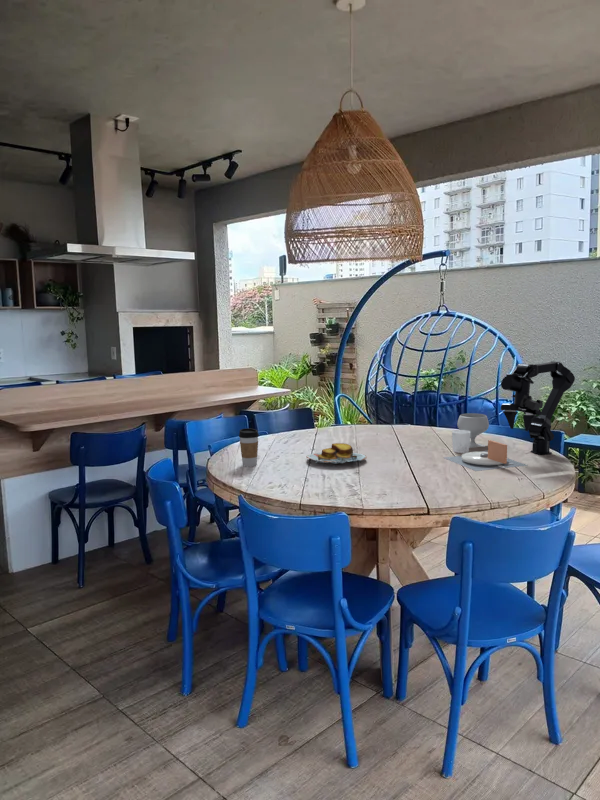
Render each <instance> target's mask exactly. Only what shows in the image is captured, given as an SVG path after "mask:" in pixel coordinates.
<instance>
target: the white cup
mask: <svg viewBox="0 0 600 800" xmlns="http://www.w3.org/2000/svg"><path fill="white" fill-rule="evenodd" d="M451 437H452V438H451V443H452V451H453V452H454V453H457V454H459V453H460V454H464V453H468V452H470V448H469V446H470V441H471V439H470V431H467V430H459V429H456V430H454V429H453V430H452V431H451Z"/></svg>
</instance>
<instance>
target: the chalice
mask: <svg viewBox="0 0 600 800" xmlns="http://www.w3.org/2000/svg"><path fill="white" fill-rule="evenodd" d="M456 425H457V428H458V430H467V431H470V446H469V449H471V448H472V449H473V448H479V447H480V448H481V447H486V445H485V444H481V443H477V442H476V438H477V436H479V435H481V434H483V433H485V432H486V431H488V429H489V427H490V422H489V419H488V416H487V415H486V414H483V413H476V412H475V413H474V412H472V413H471V412H469V413H461V414H460V415H459V417H458V419H457V424H456Z"/></svg>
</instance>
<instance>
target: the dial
mask: <svg viewBox="0 0 600 800" xmlns="http://www.w3.org/2000/svg"><path fill="white" fill-rule="evenodd" d="M487 450H488V451H486V452H481V451H469V452H467V453H461V456H462V461H464V462H467V463H471V464H476V465H500V464H506V463H507V458H508V444H506V443H502V442H499V441H494V440H492V439H490V440H487Z"/></svg>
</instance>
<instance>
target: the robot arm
mask: <svg viewBox="0 0 600 800" xmlns="http://www.w3.org/2000/svg"><path fill="white" fill-rule="evenodd" d="M545 373H549V374H550V377H551V378H552V380H551V385H552V389H551V391H550V393H549V395H548V396H547V399H546V401H545V402H544V401H543V400H541V399H536V400H533V397H532V396H531V395H530V392H531V390H530V389H531V385H532V384H533V385H534V381H533V380H532V378H535V377H537V376H538V375H539V374H545ZM575 380H576V377H575V375H574V374H573V372H572V371H571V370H570V369H569V368H568V367H566V366H564V364H563V363H562V362H560V361H549V362H543V363H536V364H530V363H518V364H517V366H516V367H515V369H514V370H513V371H512V373H506V375H505V376H504V377H503V378H502V380H501V381H500V386H501V388H502V389H503V390H505V391H509V392H514V394H513V395H512V398H514V403H502V404H501V405H500V411H502V414H504V416H505V418H506V420H507V423H508V425H509V428H510V429H511V430H513V429H514V426H515V421H516V416H517V415H518V414H519V412H521V413H523V415H522V416H523V417H522V418H523V424H524V425H523V426H524V431H525V432H528V433H529V438H530V439H532V440H533V442H532V448H531V449H532V450H530V452H531V453H533V454H538V455H549V454H553V452H552V451H550V445H551V444H550V443H551V441H554V439H555V435H554V433H553V432H552V430H551V429H552V424H551V423H552V422H551V420H552V417H553V416H554V414H555V412H556V410H557V408H558V405H559V403H560V401H561V400H562V397H563V395H564V394H565V392H566V391H568V390H569V389H571V387H572V386H573V384H574V383H575ZM543 402H544V403H543Z"/></svg>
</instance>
